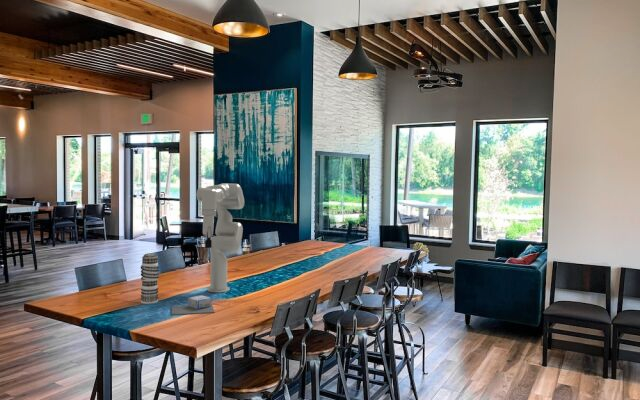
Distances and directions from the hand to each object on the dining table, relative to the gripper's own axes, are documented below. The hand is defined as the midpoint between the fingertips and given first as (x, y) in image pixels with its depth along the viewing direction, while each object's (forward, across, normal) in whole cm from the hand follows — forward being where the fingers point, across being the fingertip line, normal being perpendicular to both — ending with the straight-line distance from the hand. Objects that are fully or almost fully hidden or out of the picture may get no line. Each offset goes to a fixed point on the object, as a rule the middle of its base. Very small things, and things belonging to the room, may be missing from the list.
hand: (208, 247), depth 250 cm
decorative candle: (+29, -6, -29) cm, 41 cm away
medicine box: (+26, +6, -7) cm, 28 cm away
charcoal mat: (+29, +14, -8) cm, 33 cm away
